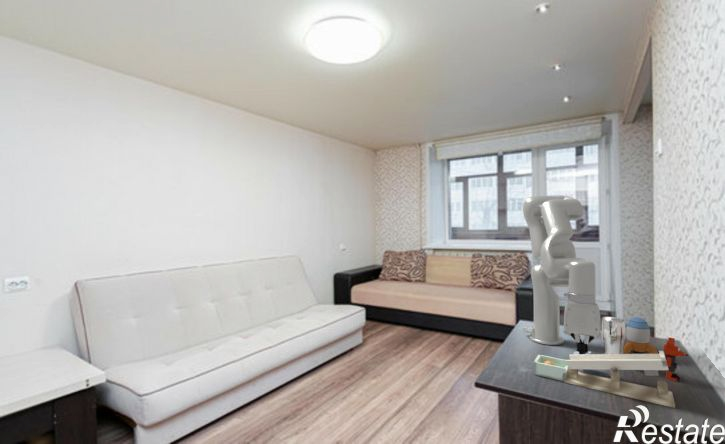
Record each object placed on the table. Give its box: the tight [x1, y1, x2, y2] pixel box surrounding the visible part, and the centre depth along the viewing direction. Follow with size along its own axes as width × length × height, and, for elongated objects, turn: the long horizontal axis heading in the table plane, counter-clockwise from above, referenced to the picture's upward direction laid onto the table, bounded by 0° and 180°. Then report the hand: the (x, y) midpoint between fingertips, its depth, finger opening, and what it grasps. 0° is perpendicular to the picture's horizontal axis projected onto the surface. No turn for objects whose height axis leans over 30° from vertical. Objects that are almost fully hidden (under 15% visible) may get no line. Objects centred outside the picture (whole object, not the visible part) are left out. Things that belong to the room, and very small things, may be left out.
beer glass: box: [601, 316, 627, 354], centre depth 125 cm, size 7×7×15 cm
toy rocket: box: [623, 316, 659, 354], centre depth 129 cm, size 10×11×15 cm
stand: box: [562, 367, 676, 409], centre depth 106 cm, size 26×10×8 cm, turn 53°
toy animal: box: [663, 336, 689, 382], centre depth 111 cm, size 8×6×12 cm
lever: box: [566, 350, 669, 377], centre depth 109 cm, size 24×14×5 cm, turn 54°
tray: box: [533, 354, 569, 382], centre depth 116 cm, size 9×8×4 cm
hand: (582, 354), depth 117 cm, fingers closed
